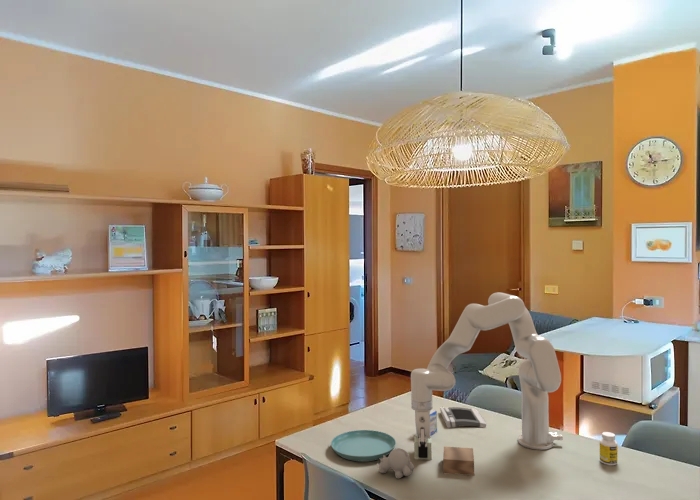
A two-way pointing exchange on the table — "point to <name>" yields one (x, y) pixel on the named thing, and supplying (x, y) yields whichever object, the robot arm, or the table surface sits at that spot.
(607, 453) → the supplement bottle
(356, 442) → the teal plate
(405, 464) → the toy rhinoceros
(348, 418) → the table surface
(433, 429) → the medicine box
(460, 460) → the walnut block
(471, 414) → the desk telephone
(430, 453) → the sage cube
